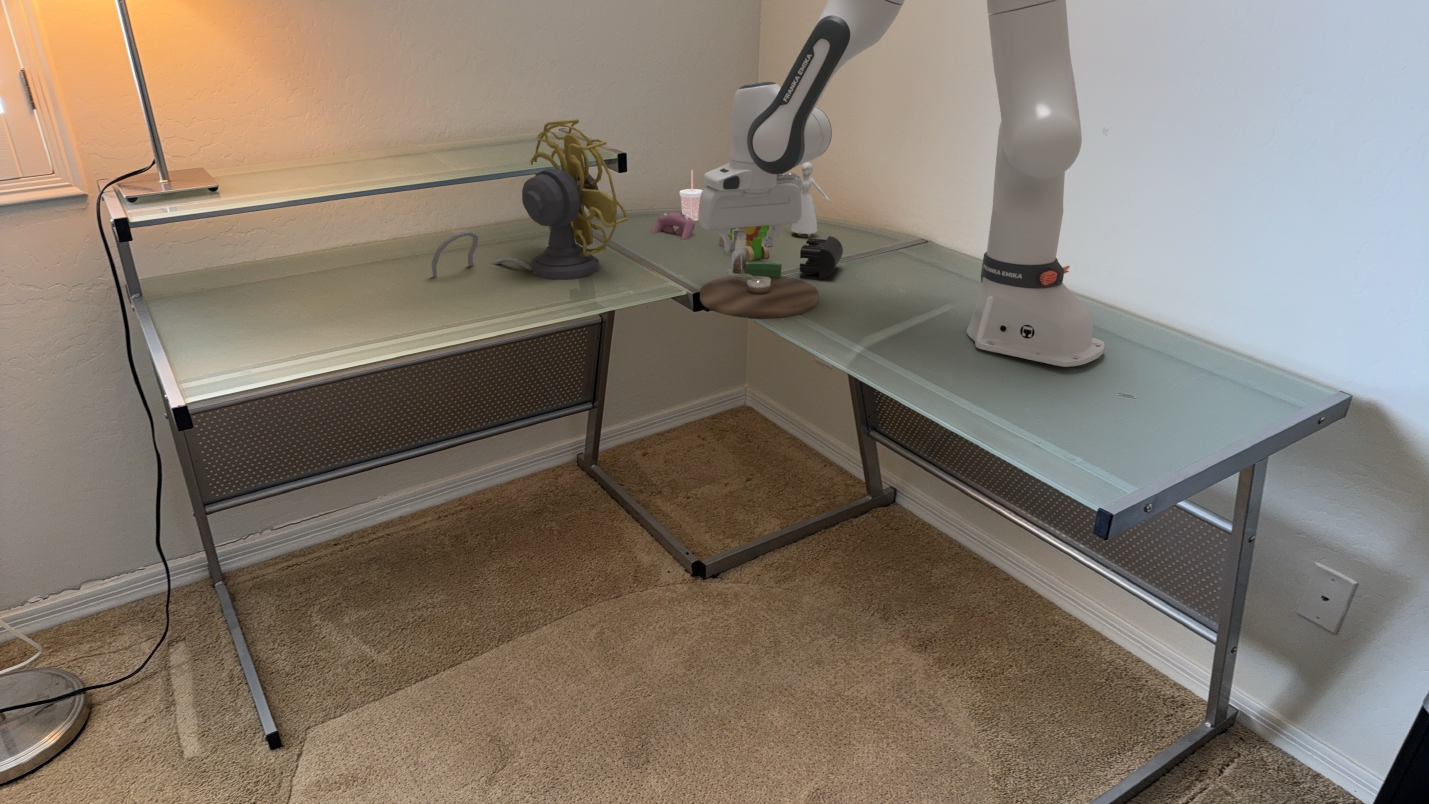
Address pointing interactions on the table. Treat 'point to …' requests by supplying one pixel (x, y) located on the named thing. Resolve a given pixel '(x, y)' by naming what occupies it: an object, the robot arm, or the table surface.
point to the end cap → (820, 258)
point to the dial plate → (759, 294)
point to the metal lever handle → (739, 265)
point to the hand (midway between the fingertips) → (749, 249)
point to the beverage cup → (690, 201)
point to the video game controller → (674, 224)
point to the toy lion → (753, 242)
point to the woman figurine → (807, 204)
